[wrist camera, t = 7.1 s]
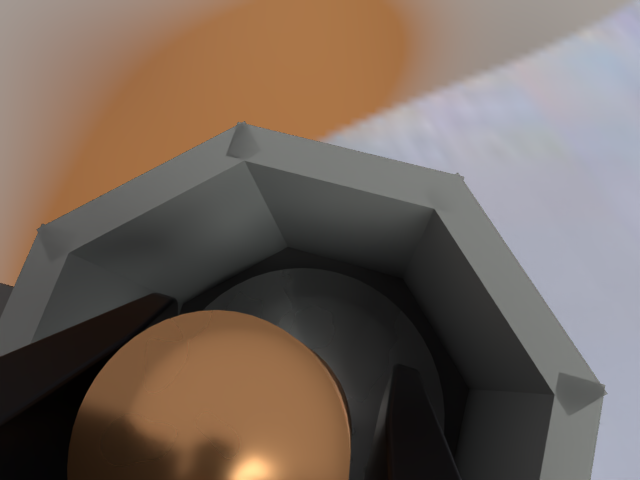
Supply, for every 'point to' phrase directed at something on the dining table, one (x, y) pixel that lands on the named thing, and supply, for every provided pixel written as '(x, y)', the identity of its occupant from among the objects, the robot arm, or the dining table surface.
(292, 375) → the plunger
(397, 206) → the press jug
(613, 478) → the dining table surface
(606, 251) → the dining table surface
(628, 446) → the dining table surface
